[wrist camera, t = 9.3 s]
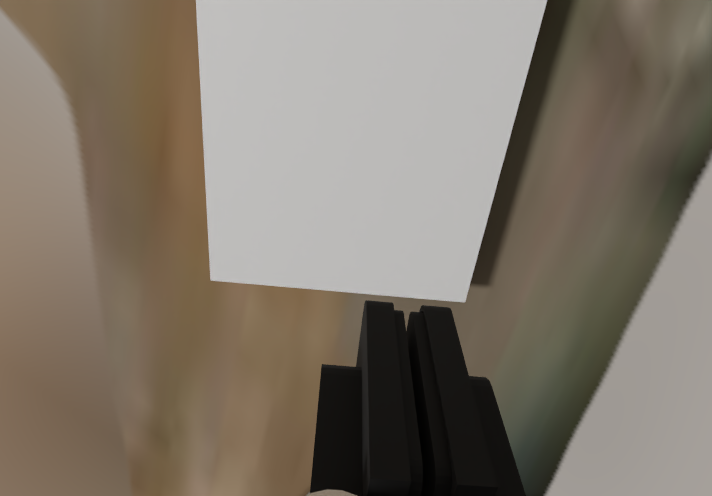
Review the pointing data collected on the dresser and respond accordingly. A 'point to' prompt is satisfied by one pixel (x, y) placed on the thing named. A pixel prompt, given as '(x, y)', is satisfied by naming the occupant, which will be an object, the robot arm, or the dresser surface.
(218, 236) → the grey plank
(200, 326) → the dresser surface
